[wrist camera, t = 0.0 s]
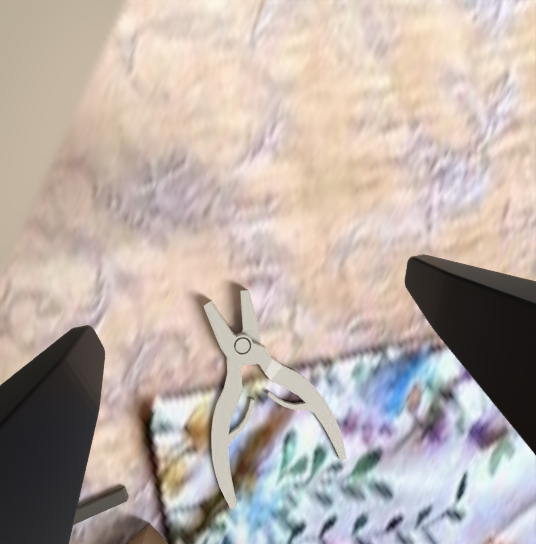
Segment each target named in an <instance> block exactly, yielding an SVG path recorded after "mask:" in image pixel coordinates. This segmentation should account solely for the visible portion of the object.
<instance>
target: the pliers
mask: <svg viewBox="0 0 536 544" xmlns="http://www.w3.org/2000/svg"><path fill="white" fill-rule="evenodd" d="M240 298H241V313H242V327H243V328H242V332H241V333H238V334H235V333H234V332H233V331H232V330H231V328H230V327H229V325H228V324H227V322H226V321H225V320H224V318H223V317H222V315H221V314H220V312H219V311H218V309H217V308H216V306H215V305H214V303H213V302H212V300H211V301H210V302H208V303H207V304H206V305H204V309H205V311H206V314H207V316H208V319H209V321H210V324H211V326H212V328H213V331H214V333H215V336H216V338H217V341H218V343H219V345H220V348H221V349H222V351H223V352H224V354H225V355H226V357H227V359H226V360H227V371H228V372H227V376H226V381H225V385H224V388H223V390H222V392H221V395H220V397H219V399H218V401H217V403H216V407H215V411H214V415H213V422H212V432H211V447H212V459H213V464H214V469H215V474H216V477H217V480H218V484H219V487H220V489H221V491H222V493H223V495H224V497H225V499H226V501H227V503H228V505H229V507H230V508H231V509H233V508H236V507H237V501H236V497H235V493H234V488H233V483H232V477H231V472H230V464H229V446H230V444H231V442H232V441H233V440H234V439H235V438H236V437H237V436H238V435H239V434H240V433H241V432H242V430H243V429H244V427H245V426H246V424H247V422H248V421H249V418H250V415H251V412H252V408H253V404H254V398H251V399H250V403H249V407H248V410H247V413H246V415H245V417H244V419H243V420H242V422H241V423H240V424H239V426H238V427H236V428H235V429H233V430H232V431H230V432H229V429H230V422H231V419H232V417H233V414H234V411H235V409H236V406H237V404H238V401H239V399H240V397H241V394H242V392H243V391H242V376H241V367H242V366H244V365H254V364H259V365H260V367H261V368H262V370H263V371H264V373H265V374H266V375H267V376H268V378H269V379H270V380H271V381H273V382H275V383H277V384H279V385H280V386H282V387H284V388H286V389H288V390H290V391H291V392H293V393H295V394H296V395H298V396H299V397H300V398H301V399H302V400H303V401H304V402H299V403H291V402H287V401H284V400H282V399H280V398H278V397H276V396H275V395H274V394H272V393H271V392H270V391H268V392H267V395H268V396H269V397H270V398H272V399H273V400H274V401H275V402H277V403H279V404H280V405H282V406H284V407H287V408H291V409H294V410H308V411H311V412H314V414H315V415H316V417H317V418H318V419H319V421H320V422H321V424H322V425H323V427H324V428H325V430H326V432H327V434H328V436H329V438H330V440H331V442H332V444H333V446H334V448H335V450H336V452H337V455H338V457H339V459H340V460H341V461H342V460H344V459H346V454H345V448H344V443H343V439H342V435H341V432H340V429H339V427H338V424H337V421H336V419H335V417H334V415H333V413H332V411H331V409H330V408H329V406H328V405H327V403H326V402H325V400H324V399H323V398H322V396H321V395H320V394H319V392H318V391H317V390H316V389H315V387H314V386H313V385H312V384H311V383H310V382H309V381H308V380H307V379H306V378H304V377H303V376H302V375H301V374H299V373H298V372H296V371H294V370H292V369H290V368H288V367H286V366H284V365H282V364H281V363H279V362H278V361H277V360H276V359H274V358H273V357H272V356H271V355H270V354H269V353H268V351H267V350H266V348H265V347H264V346H263V345H261V344H260V330H259V325H258V322H257V318H256V315H255V311H254V308H253V304H252V300H251V297H250V293H249V290H241V291H240Z"/></svg>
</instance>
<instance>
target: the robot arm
mask: <svg viewBox="0 0 536 544" xmlns="http://www.w3.org/2000/svg"><path fill="white" fill-rule="evenodd" d="M405 286H406V288H407V290H408V291H409V293H410V294H411V296H412V298H413V299H414V301H415V302H416V304H417V305H418V307H419V308H420V310H421V311H422V313H423V314H424V316H425V317H426V319H427V321H428V322H429V323H430V325H431V326H432V328H433V329H434V330H435V332H436V333H437V334H438V336H439V337H440V338H441V339H442V340H443V342H444V343H445V344H446V345H447V347H448V348H449V349H450V350H451V352H452V353H453V354H454V355H455V356H456V358H457V359H458V360H459V361H460V363H461V364H462V365H463V366H464V368H465V369H466V370H467V371H468V372H469V374H470V375H471V376H472V377H473V379H474V380H475V381H476V382H477V384H478V385H479V386H480V387H481V388H482V390H483V391H484V392H485V393H486V395H487V396H488V397H489V398H490V400H491V401H492V402H493V403H494V404H495V406H496V407H497V408H498V409H499V411H500V412H501V413H502V414H503V416H504V417H505V418H506V419H507V420H508V422H509V423H510V424H511V425H512V427H513V428H514V429H515V430H516V432H517V433H518V434H519V435H520V436H521V438H522V439H523V440H524V441H525V443H526V444H527V445H528V446H529V448H530V449H531V450H532V451H533V452H534V454H535V455H536V281H532V280H528V279H524V278H519V277H515V276H511V275H507V274H503V273H499V272H495V271H491V270H486V269H482V268H478V267H474V266H470V265H466V264H462V263H457V262H453V261H449V260H445V259H441V258H437V257H433V256H429V255H418V256H413V257H411V258H409V260H408V263H407V269H406V275H405ZM104 362H105V350H104V347H103V345H102V343H101V341H100V340H99V338H98V336H97V334H96V332H95V331H94V329H93V328H92V327H91V326H89V325H85V326H81V327H76V328H73V329H71V330H69V331H68V332H67V333H66V334H64V335H63V336H62V337H61V338H59V339H58V340H57V341H56V342H54V343H53V344H52V345H51V346H49V347H48V348H47V349H46V350H44V351H43V352H42V353H40V354H39V355H38V356H37V357H35V358H34V359H33V360H32V361H30V362H29V363H28V364H27V365H25V366H24V367H23V368H22V369H20V370H19V371H18V372H17V373H15V374H14V375H13V376H12V377H10V378H9V379H8V380H7V381H5V382H4V383H3V384H1V385H0V544H69V541H70V536H71V532H72V528H73V523H74V519H75V514H76V510H77V506H78V501H79V497H80V492H81V488H82V484H83V479H84V475H85V471H86V466H87V462H88V457H89V453H90V449H91V444H92V440H93V435H94V431H95V427H96V422H97V418H98V413H99V407H100V399H101V390H102V381H103V371H104Z"/></svg>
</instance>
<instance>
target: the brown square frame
mask: <svg viewBox="0 0 536 544" xmlns="http://www.w3.org/2000/svg"><path fill="white" fill-rule="evenodd" d="M127 544H168V543H167V542H166V541H165V540H164V539H163V538H162V537H161V535H160V534H159V533H158V532H157V531H156V530H155V529H154V528H153V527H152V526H151V524H150V523H149V524H148V525H147V526H146V527H145V528H144V529H142V530H141V531H140V532H139V533H138V534H137V535H136V536H135V537H134V538H133V539H132V540H131V541H129V542H128V543H127Z"/></svg>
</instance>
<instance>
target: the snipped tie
mask: <svg viewBox="0 0 536 544" xmlns="http://www.w3.org/2000/svg"><path fill="white" fill-rule="evenodd" d="M128 498H129V497H128V494H127V491H126V489H125V487H123V488H121V489H119V490H116V491H114V492H112V493H109V494H107V495H105V496H103V497H100V498H98V499H96V500H93V501H91V502H89V503H86V504H84V505H82V506H80V507H77V510H76V514H75V519H74V523H73V525H74V524H76V523H79V522H81V521H83V520H85V519H88V518H90V517H92V516H94V515H97V514H99V513H101V512H103V511H106V510H108V509H110V508H112V507H115V506H117V505H119V504H121V503H124V502H126V501H127V500H128Z"/></svg>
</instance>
